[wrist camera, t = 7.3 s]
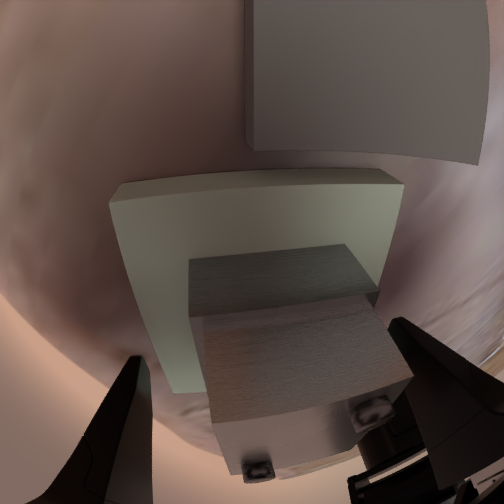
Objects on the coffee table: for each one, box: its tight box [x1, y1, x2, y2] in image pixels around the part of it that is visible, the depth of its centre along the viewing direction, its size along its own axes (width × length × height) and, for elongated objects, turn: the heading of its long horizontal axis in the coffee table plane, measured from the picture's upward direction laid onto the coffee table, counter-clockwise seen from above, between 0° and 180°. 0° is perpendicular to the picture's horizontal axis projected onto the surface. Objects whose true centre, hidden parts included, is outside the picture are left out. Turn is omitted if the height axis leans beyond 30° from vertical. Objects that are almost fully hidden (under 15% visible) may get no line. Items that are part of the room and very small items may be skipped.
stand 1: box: [244, 0, 490, 165], centre depth 6 cm, size 10×9×2 cm
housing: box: [188, 244, 414, 483], centre depth 8 cm, size 5×6×6 cm
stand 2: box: [108, 168, 405, 394], centre depth 11 cm, size 10×9×2 cm
